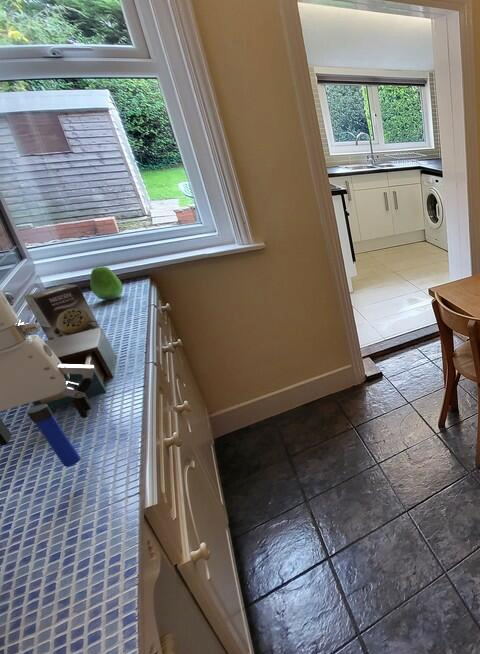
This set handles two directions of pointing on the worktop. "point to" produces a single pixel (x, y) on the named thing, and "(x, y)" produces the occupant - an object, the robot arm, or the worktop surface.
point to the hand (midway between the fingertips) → (48, 426)
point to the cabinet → (86, 348)
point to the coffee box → (61, 311)
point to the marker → (54, 434)
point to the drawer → (92, 391)
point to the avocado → (105, 283)
